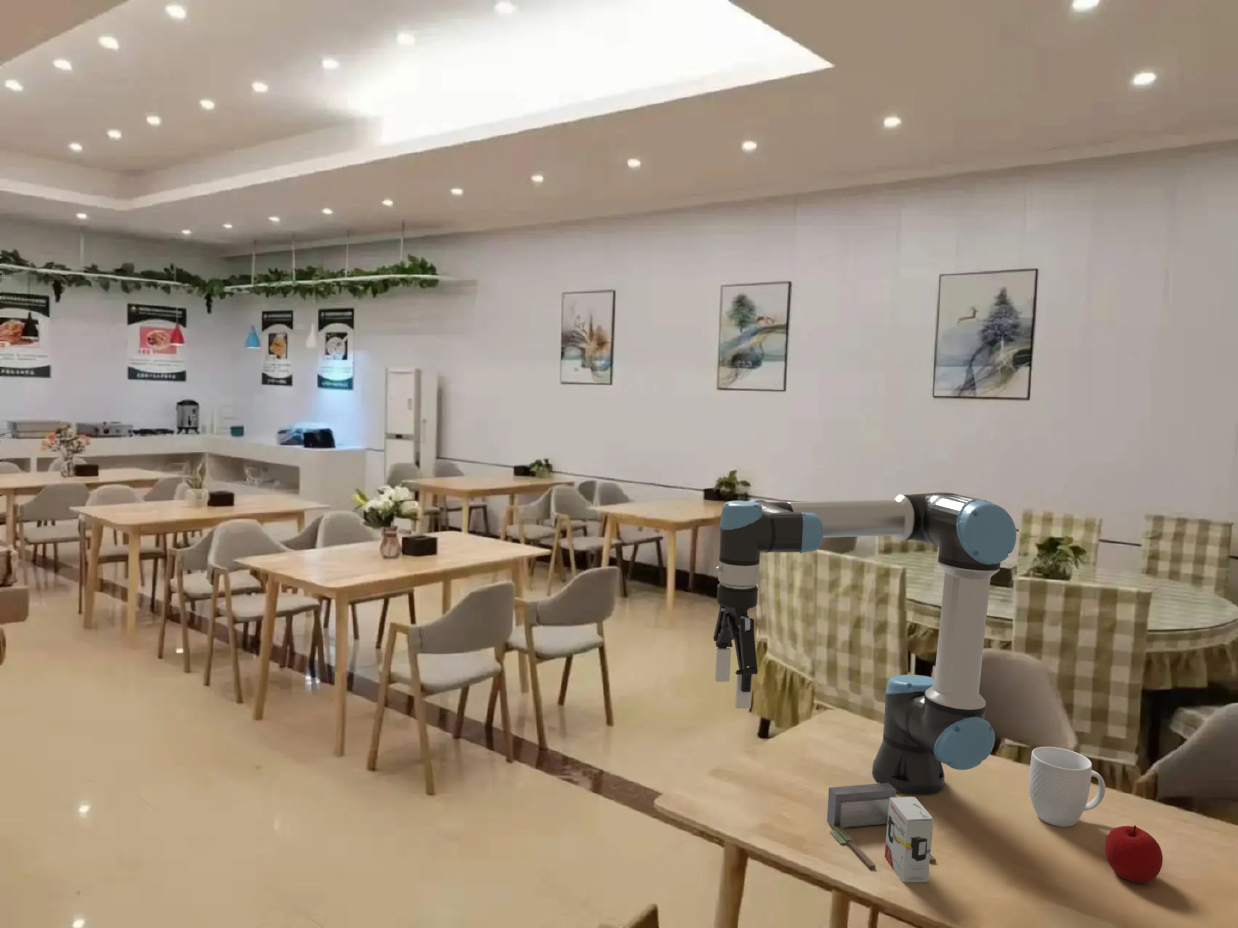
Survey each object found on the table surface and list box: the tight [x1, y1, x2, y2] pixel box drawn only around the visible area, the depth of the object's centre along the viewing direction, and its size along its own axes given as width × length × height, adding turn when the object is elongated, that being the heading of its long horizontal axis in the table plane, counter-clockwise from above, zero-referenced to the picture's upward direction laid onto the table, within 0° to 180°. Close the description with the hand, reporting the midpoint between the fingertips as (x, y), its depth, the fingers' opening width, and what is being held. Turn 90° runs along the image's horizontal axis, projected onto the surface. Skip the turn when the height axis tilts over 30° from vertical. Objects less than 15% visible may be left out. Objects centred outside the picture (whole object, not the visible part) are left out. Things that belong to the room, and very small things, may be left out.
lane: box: [829, 826, 937, 870], centre depth 165 cm, size 16×14×1 cm
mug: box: [1028, 746, 1106, 828], centre depth 177 cm, size 15×11×13 cm
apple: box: [1104, 825, 1164, 884], centre depth 157 cm, size 9×9×10 cm
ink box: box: [884, 796, 934, 883], centre depth 156 cm, size 9×5×12 cm, turn 5°
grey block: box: [826, 783, 897, 829], centre depth 172 cm, size 13×4×7 cm, turn 103°
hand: (732, 693), depth 165 cm, fingers open, 13 cm apart
